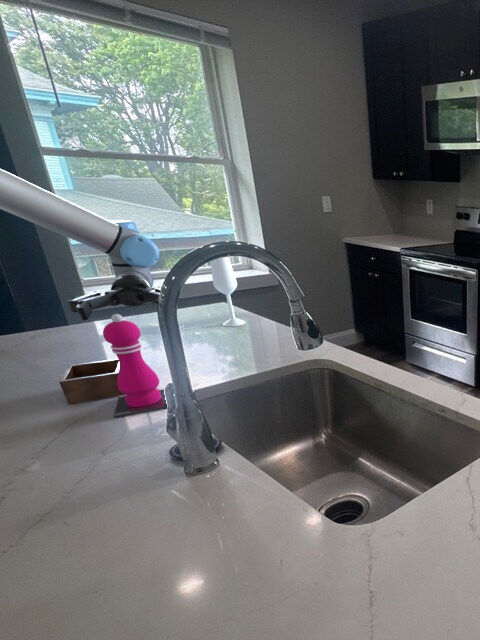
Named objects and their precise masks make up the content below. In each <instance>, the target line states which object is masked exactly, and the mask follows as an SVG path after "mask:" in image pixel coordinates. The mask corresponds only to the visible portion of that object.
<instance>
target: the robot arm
mask: <svg viewBox="0 0 480 640" xmlns="http://www.w3.org/2000/svg"><path fill="white" fill-rule="evenodd" d="M0 210H2V211H4V212H6V213H9V214H12V215H14V216H16V217H18V218H20V219H24V220H26V221H28V222H30V223H33V224H35V225H38V226H40V227H43V228H44V229H47V230H49V231H52V232H54V233H57V234H59V235H61V236H64V237H66V238H68V239H70V240H73V241H75V242H78V243H80V244H82V245H85V246H87V247H90V248H92V249H95V250H96V251H99V252H102V253H104V254H106V255H107V256H109V259H110V262H111V266H112V270H113V273H114V276H115V279H114V280H113V282H112V284H111V288H110V290H106V291H104V293H102V292H101V291H99V290H93V291H92V292H90V293H88V294H85V295H82V296H81V295H80V296H79V297H76V298H73V299H70V300H67V303H68V307H69V308H70V312H71V313H77V314H80V317H81V319H82V321H88V320H89V319H90V316H91V315H92V313H93V311H94V310H97V309H101V308H105V307H108V306H110V307H116V306H119V305H122V306H125V307H128V308H135V307H140V306H142V305H144V304H149V303H152V304H157V306H158V300H159V295H160V290H161V287H162V286H160V285H159V286H156V287H154V288H153V286H154V282H155V281H154V277H153V274H152V272H151V271H150V268H151V267H153V266H155V265H156V263H158V261H159V259H160V250H159V248H158V246H157V244H156V243H154V242H153V241H152V239H150V238H149V237H147V236H144V235H141V234H140V231H139V230H138V227H137V224H136V223H135V222H134V221H132V220H129V219H128V220H126V219H116V220H115V219H113V220H112V219H111V220H109V219H107V218H106V217H103V216H101V215H99V214H97V213H94V212H92V211H91V210H88V209H86V208H84V207H82V206H80V205H78V204H76V203H73V202H72V201H69V200H67V199H65V198H63V197H61V196H58V195H57V194H54V193H53V192H50V191H48V190H46V189H44V188H42V187H41V186H37V185H36V184H33V183H31V182H29V181H27V180H26V179H24V178H21V177H19V176H16V175H15V174H12V173H11V172H8V171H6V170H5V169H2V168H0ZM152 288H153V289H152Z"/></svg>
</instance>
